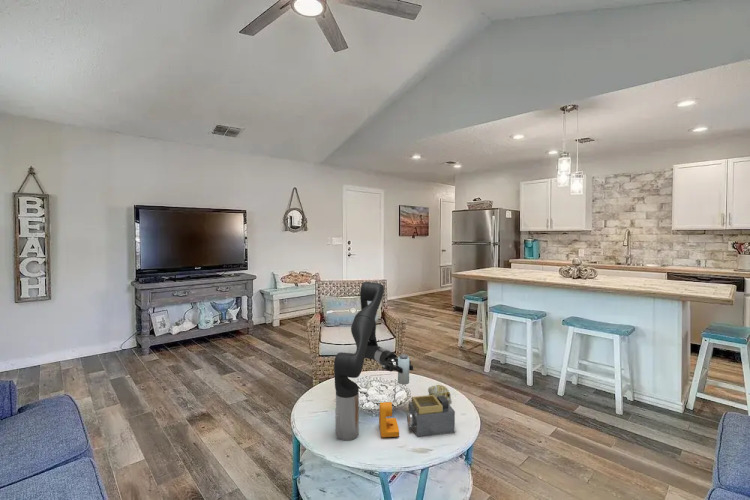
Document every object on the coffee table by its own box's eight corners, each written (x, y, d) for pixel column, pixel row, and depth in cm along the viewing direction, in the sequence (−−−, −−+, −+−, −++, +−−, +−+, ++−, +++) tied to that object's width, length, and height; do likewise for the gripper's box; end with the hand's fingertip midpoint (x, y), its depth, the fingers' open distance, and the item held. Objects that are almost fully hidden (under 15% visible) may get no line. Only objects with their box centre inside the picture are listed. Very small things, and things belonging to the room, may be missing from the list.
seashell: (455, 403, 170) (446, 386, 169) (437, 413, 170) (427, 395, 169) (450, 392, 180) (441, 376, 179) (432, 401, 180) (423, 385, 179)
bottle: (399, 385, 157) (399, 357, 156) (396, 380, 161) (396, 354, 161) (410, 384, 158) (410, 357, 157) (407, 379, 162) (407, 353, 162)
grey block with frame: (412, 437, 143) (412, 408, 143) (404, 423, 154) (404, 395, 153) (454, 432, 147) (454, 404, 146) (444, 418, 158) (444, 392, 157)
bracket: (399, 438, 143) (399, 409, 142) (381, 439, 143) (381, 409, 142) (395, 423, 154) (395, 396, 153) (379, 424, 153) (379, 397, 153)
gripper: (372, 353, 167) (393, 364, 153) (397, 347, 175) (420, 358, 160) (372, 368, 168) (393, 381, 153) (397, 362, 175) (420, 374, 161)
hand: (407, 369), depth 157 cm, fingers closed on bottle, 5 cm apart
